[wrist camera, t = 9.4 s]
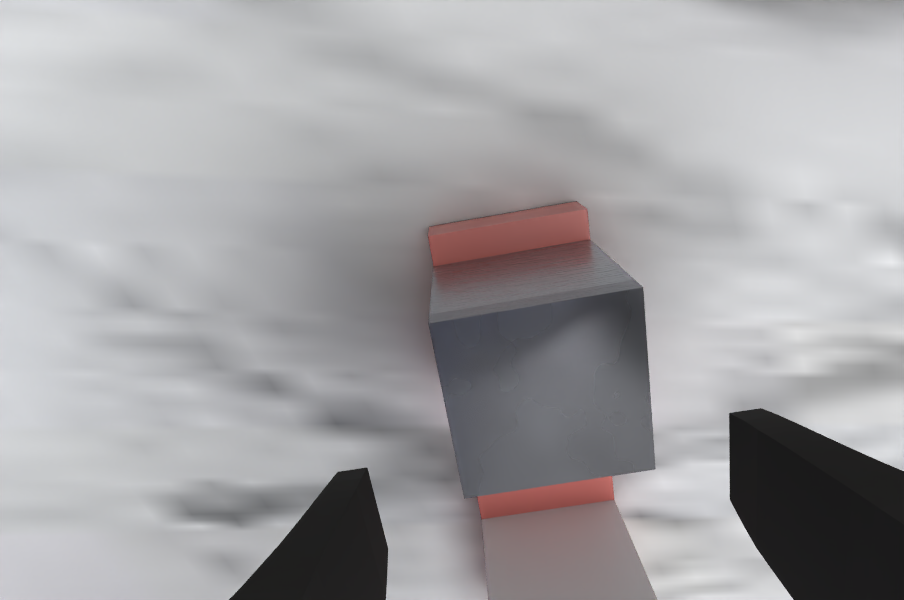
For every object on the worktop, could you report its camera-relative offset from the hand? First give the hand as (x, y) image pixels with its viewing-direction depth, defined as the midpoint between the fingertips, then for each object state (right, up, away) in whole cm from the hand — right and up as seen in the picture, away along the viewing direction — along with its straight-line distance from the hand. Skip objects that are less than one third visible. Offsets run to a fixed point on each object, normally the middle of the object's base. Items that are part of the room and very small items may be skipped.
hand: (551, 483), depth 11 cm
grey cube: (0, +3, +7) cm, 8 cm away
